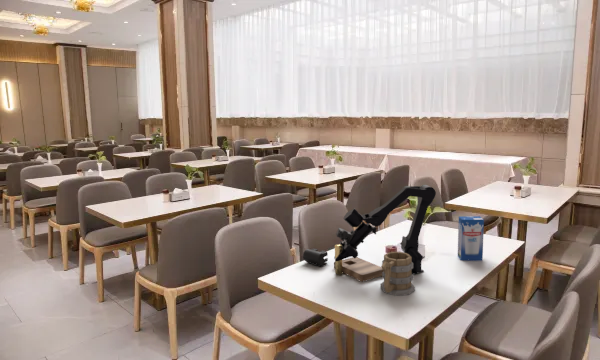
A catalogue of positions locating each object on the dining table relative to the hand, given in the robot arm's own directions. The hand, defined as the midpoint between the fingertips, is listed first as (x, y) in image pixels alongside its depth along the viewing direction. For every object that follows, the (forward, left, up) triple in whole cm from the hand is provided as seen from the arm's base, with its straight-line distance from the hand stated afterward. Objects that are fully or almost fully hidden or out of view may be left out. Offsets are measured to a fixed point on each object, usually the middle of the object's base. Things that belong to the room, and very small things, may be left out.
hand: (335, 259), depth 190 cm
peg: (-1, -1, -7) cm, 7 cm away
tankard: (-29, -7, -7) cm, 30 cm away
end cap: (+16, 0, -7) cm, 18 cm away
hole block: (-4, -10, -7) cm, 13 cm away
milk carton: (-22, -64, -7) cm, 68 cm away
